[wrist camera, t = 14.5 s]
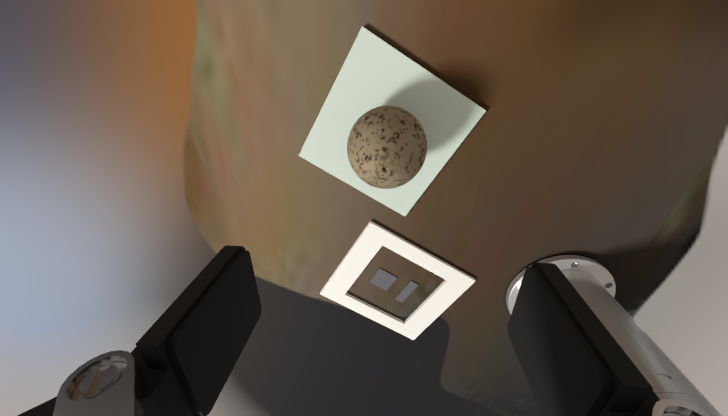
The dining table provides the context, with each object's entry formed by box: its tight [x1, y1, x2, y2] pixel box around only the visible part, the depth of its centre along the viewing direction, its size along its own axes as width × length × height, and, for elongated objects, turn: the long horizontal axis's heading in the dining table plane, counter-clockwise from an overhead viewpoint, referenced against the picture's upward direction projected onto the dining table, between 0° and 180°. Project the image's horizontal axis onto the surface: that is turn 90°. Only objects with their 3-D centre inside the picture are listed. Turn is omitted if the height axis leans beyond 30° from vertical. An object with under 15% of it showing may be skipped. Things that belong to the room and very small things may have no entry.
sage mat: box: [299, 27, 486, 216], centre depth 31 cm, size 14×14×1 cm
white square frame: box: [320, 221, 475, 340], centre depth 40 cm, size 16×14×1 cm
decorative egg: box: [347, 106, 427, 189], centre depth 26 cm, size 7×7×10 cm
